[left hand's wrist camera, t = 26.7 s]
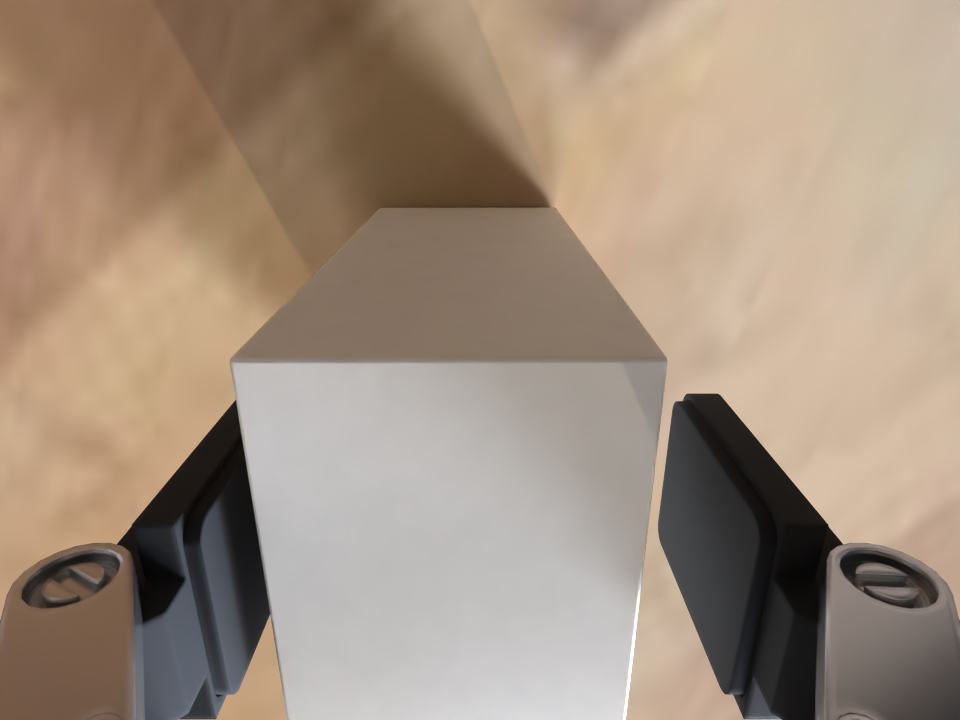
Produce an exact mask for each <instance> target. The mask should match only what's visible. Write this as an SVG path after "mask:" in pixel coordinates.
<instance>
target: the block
mask: <svg viewBox="0 0 960 720" xmlns="http://www.w3.org/2000/svg"><path fill="white" fill-rule="evenodd" d="M667 362H668V361H667V358H666V356H665V355H664V354H663V352H662V351H661V350H660V348H659V347H658V345H657V344H656V343H655V341H654V340H653V339H652V337H651V336H650V335H649V333H648V332H647V331H646V329H645V328H644V327H643V325H642V324H641V323H640V321H639V320H638V318H637V317H636V316H635V314H634V313H633V312H632V310H631V309H630V308H629V306H628V305H627V304H626V302H625V301H624V300H623V298H622V297H621V295H620V294H619V293H618V291H617V290H616V289H615V287H614V286H613V285H612V283H611V282H610V281H609V279H608V278H607V277H606V275H605V274H604V273H603V271H602V270H601V268H600V267H599V266H598V264H597V263H596V262H595V260H594V259H593V258H592V256H591V255H590V254H589V252H588V251H587V250H586V248H585V247H584V245H583V244H582V243H581V241H580V240H579V239H578V237H577V236H576V235H575V233H574V232H573V231H572V229H571V228H570V227H569V225H568V224H567V223H566V221H565V220H564V218H563V217H562V216H561V214H560V213H559V212H558V210H557V209H556V208H379V209H378V210H377V211H376V212H375V213H374V214H373V215H372V216H371V217H370V218H369V219H368V220H367V221H366V222H365V223H364V224H363V225H362V226H361V227H360V228H359V229H358V230H357V231H356V232H355V233H354V234H353V235H352V236H351V237H350V238H349V239H348V240H347V241H346V242H345V243H344V244H343V246H342V247H341V248H340V249H339V250H338V251H337V252H336V253H335V254H334V255H333V256H332V257H331V258H330V259H329V260H328V261H327V262H326V263H325V264H324V265H323V266H322V267H321V268H320V269H319V270H318V271H317V272H316V273H315V274H314V275H313V276H312V277H311V278H310V279H309V280H308V281H307V282H306V283H305V284H304V285H303V286H302V287H301V288H300V289H299V290H298V291H297V292H296V293H295V294H294V295H293V296H292V297H291V298H290V299H289V300H288V301H287V302H286V303H285V304H284V305H283V306H282V307H281V308H280V309H279V310H278V311H277V312H276V313H275V314H274V315H273V316H272V317H271V318H270V319H269V320H268V321H267V322H266V323H265V324H264V325H263V326H262V327H261V328H260V329H259V330H258V331H257V332H256V333H255V334H254V335H253V336H252V337H251V338H250V339H249V340H248V341H247V342H246V343H245V344H244V345H243V346H242V347H241V348H240V349H239V350H238V351H237V352H236V353H235V354H234V355H233V356H232V357H231V359H230V366H231V372H232V378H233V385H234V391H235V397H236V403H237V410H238V416H239V422H240V428H241V434H242V441H243V447H244V453H245V459H246V465H247V472H248V478H249V484H250V490H251V497H252V503H253V509H254V515H255V521H256V528H257V534H258V540H259V546H260V553H261V559H262V565H263V571H264V577H265V584H266V590H267V596H268V602H269V608H270V615H271V621H272V627H273V633H274V640H275V646H276V652H277V658H278V664H279V671H280V677H281V683H282V689H283V695H284V702H285V708H286V714H287V720H625V719H626V711H627V702H628V694H629V685H630V677H631V668H632V660H633V651H634V643H635V634H636V626H637V617H638V609H639V600H640V592H641V583H642V575H643V566H644V558H645V549H646V541H647V532H648V524H649V515H650V507H651V498H652V490H653V481H654V472H655V464H656V455H657V447H658V438H659V430H660V421H661V413H662V404H663V396H664V387H665V379H666V370H667Z"/></svg>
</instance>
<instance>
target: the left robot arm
mask: <svg viewBox="0 0 960 720" xmlns="http://www.w3.org/2000/svg"><path fill="white" fill-rule="evenodd" d="M658 532H659V539H660V543H661V545H662V548H663V550H664V553H665V555H666V557H667V560H668V562H669V565H670V567H671V569H672V572H673V574H674V577H675V579H676V582H677V584H678V586H679V589H680V591H681V594H682V596H683V598H684V601H685V603H686V606H687V608H688V611H689V613H690V615H691V618H692V620H693V623H694V625H695V627H696V630H697V632H698V635H699V637H700V640H701V642H702V644H703V647H704V649H705V652H706V654H707V656H708V659H709V661H710V664H711V666H712V669H713V671H714V673H715V676H716V678H717V681H718V683H719V685H720V688H721V690H722V691H723V692H724V694H733V695H734V697H735V700H736V702H737V704H738V706H739V709H740V711H741V713H742V716H743V718H744V719H782V720H960V620H959V617H958V613H957V609H956V605H955V601H954V597H953V594H952V592H951V590H950V588H949V586H948V584H947V583H946V582H945V581H944V580H943V579H942V578H941V577H940V576H939V575H938V573H937V572H936V571H934V570H933V569H931V568H930V567H928V566H927V565H925V564H924V563H922V562H921V561H919V560H917V559H915V558H913V557H911V556H909V555H907V554H905V553H903V552H900V551H897V550H894V549H891V548H888V547H885V546H880V545H875V544H869V543H848V544H844V545H843V544H842V542H841V541H840V540H839V539H838V538H837V536H836V535H835V534H834V533H833V532H832V530H831V529H830V528H829V527H828V524H827V523H826V522H825V520H824V519H823V518H822V517H821V516H820V514H819V513H818V512H817V511H816V510H815V508H814V507H813V506H812V505H811V504H810V502H809V501H808V500H807V499H806V498H805V496H804V495H803V494H802V493H801V492H800V490H799V489H798V488H797V487H796V486H795V484H794V483H793V482H792V481H791V480H790V478H789V477H788V476H787V475H786V474H785V472H784V471H783V470H782V469H781V468H780V466H779V465H778V464H777V463H776V462H775V460H774V459H773V458H772V457H771V456H770V454H769V453H768V452H767V451H766V450H765V448H764V447H763V446H762V445H761V444H760V442H759V441H758V440H757V439H756V438H755V436H754V435H753V434H752V433H751V432H750V430H749V429H748V428H747V427H746V426H745V424H744V423H743V422H742V421H741V420H740V418H739V417H738V416H737V415H736V413H735V412H734V411H733V410H732V409H731V407H730V406H729V405H728V404H727V403H726V401H725V400H724V399H723V398H722V397H721V396H720V395H719V394H686V395H685V397H684V399H683V401H676V402H675V403H674V406H673V410H672V418H671V426H670V434H669V442H668V450H667V458H666V466H665V474H664V481H663V489H662V497H661V505H660V513H659V521H658ZM269 615H270V608H269V602H268V596H267V590H266V584H265V577H264V571H263V565H262V559H261V553H260V546H259V540H258V534H257V528H256V521H255V515H254V509H253V503H252V497H251V490H250V484H249V478H248V472H247V465H246V459H245V453H244V447H243V441H242V434H241V428H240V422H239V416H238V410H237V403H236V400H235V401H234V403H233V404H232V405H231V406H230V408H229V409H228V410H227V411H226V412H225V414H224V415H223V416H222V417H221V418H220V420H219V421H218V422H217V423H216V424H215V426H214V427H213V428H212V429H211V430H210V432H209V433H208V434H207V435H206V436H205V438H204V439H203V440H202V441H201V442H200V444H199V445H198V446H197V447H196V448H195V450H194V451H193V452H192V453H191V454H190V456H189V457H188V458H187V459H186V460H185V462H184V463H183V464H182V465H181V466H180V468H179V469H178V470H177V471H176V472H175V474H174V475H173V476H172V477H171V478H170V480H169V481H168V482H167V483H166V484H165V486H164V487H163V488H162V489H161V490H160V492H159V493H158V494H157V495H156V496H155V498H154V499H153V500H152V501H151V502H150V504H149V505H148V506H147V507H146V508H145V510H144V511H143V512H142V513H141V514H140V516H139V517H138V518H137V519H136V520H135V522H134V523H133V524H132V527H131V528H130V529H129V530H128V532H127V533H126V534H125V535H124V536H123V538H122V539H121V540H120V541H119V542H118V544H117V545H116V544H112V543H91V544H85V545H80V546H75V547H72V548H69V549H66V550H63V551H60V552H57V553H55V554H53V555H51V556H49V557H47V558H45V559H43V560H41V561H39V562H38V563H36V564H35V565H33V566H32V567H30V568H29V569H27V570H26V571H24V572H23V573H22V575H21V576H20V577H19V578H18V579H17V580H16V581H15V582H14V583H13V584H12V586H11V588H10V590H9V592H8V594H7V597H6V601H5V605H4V609H3V613H2V617H1V620H0V720H178V719H216V718H217V716H218V713H219V711H220V709H221V707H222V704H223V702H224V700H225V697H226V695H227V694H236V692H237V691H238V690H239V688H240V686H241V683H242V681H243V678H244V676H245V673H246V671H247V669H248V666H249V664H250V661H251V659H252V657H253V654H254V652H255V649H256V647H257V644H258V642H259V640H260V637H261V635H262V632H263V630H264V628H265V625H266V623H267V620H268V618H269Z"/></svg>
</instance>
